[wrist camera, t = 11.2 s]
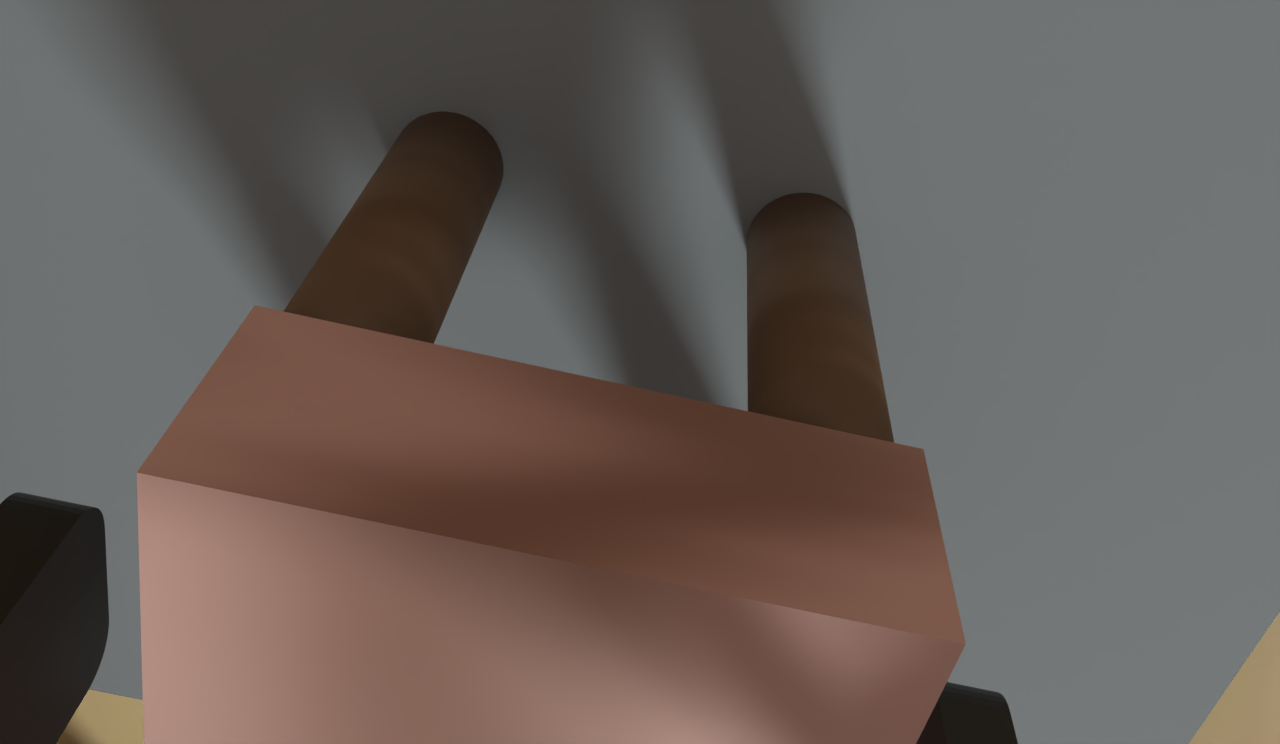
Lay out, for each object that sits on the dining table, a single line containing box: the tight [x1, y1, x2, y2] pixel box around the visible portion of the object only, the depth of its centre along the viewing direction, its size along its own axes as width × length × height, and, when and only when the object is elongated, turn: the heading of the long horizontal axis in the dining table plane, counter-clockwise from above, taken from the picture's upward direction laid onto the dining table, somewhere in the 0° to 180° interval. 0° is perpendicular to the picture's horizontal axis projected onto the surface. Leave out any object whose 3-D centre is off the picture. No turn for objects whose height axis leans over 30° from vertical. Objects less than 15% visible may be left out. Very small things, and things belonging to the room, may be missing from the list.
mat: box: [0, 0, 1280, 744], centre depth 17 cm, size 16×20×1 cm
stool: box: [137, 111, 966, 744], centre depth 13 cm, size 6×6×8 cm
